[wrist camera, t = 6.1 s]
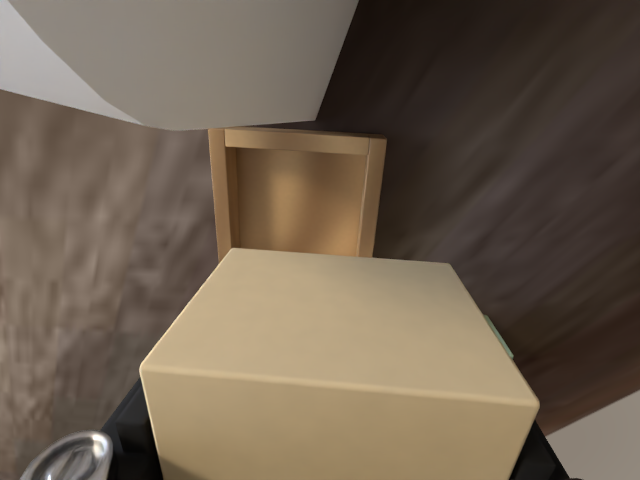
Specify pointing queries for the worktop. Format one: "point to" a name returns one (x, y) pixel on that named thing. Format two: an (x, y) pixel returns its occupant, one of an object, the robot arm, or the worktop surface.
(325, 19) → the milk
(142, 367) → the tan block
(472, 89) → the worktop surface
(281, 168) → the divided wooden tray
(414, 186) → the worktop surface
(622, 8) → the worktop surface
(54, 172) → the worktop surface
